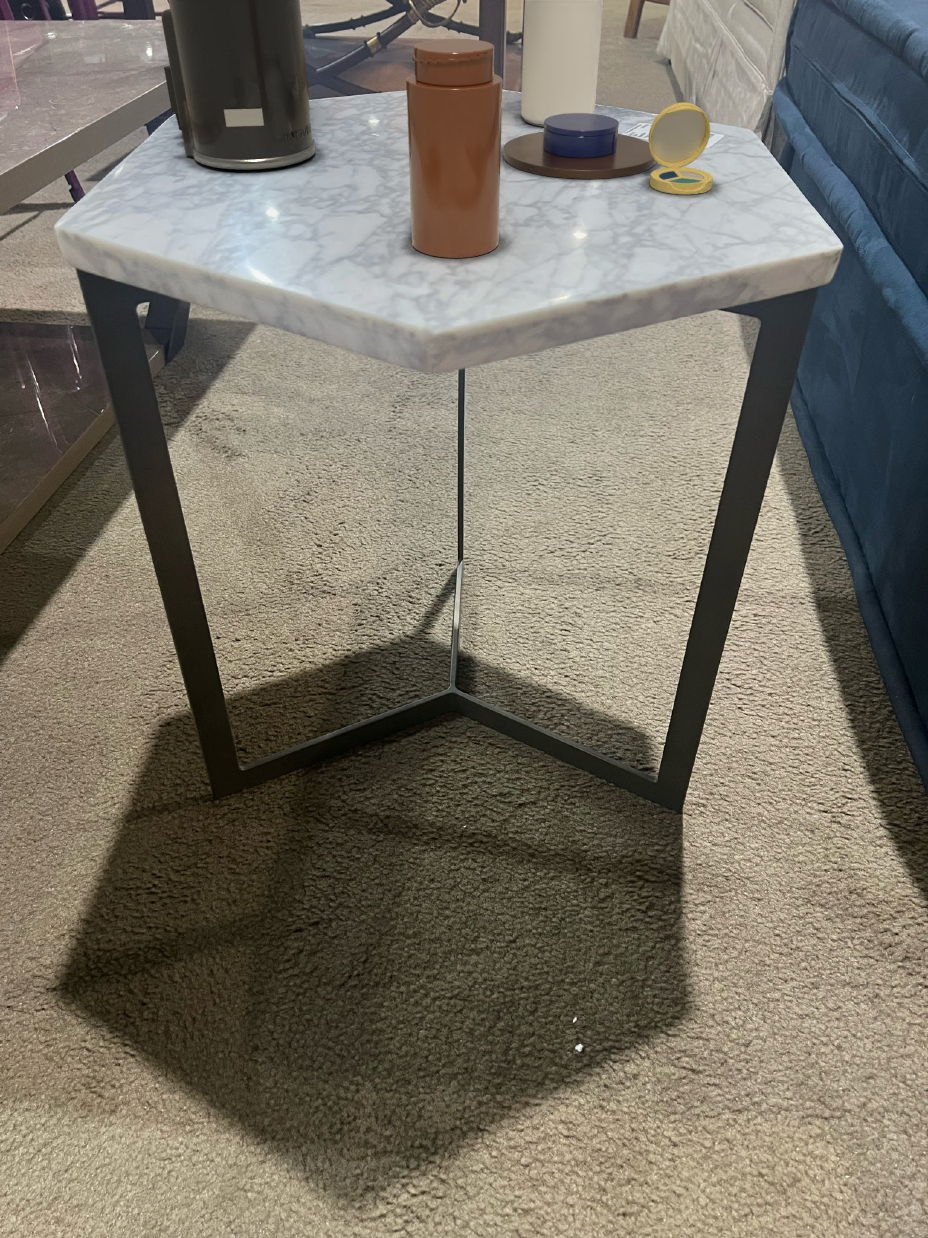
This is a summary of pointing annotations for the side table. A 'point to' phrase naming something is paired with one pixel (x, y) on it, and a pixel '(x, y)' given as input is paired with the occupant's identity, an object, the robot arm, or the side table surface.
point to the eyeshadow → (679, 149)
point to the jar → (454, 147)
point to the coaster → (578, 159)
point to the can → (560, 57)
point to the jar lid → (580, 135)
